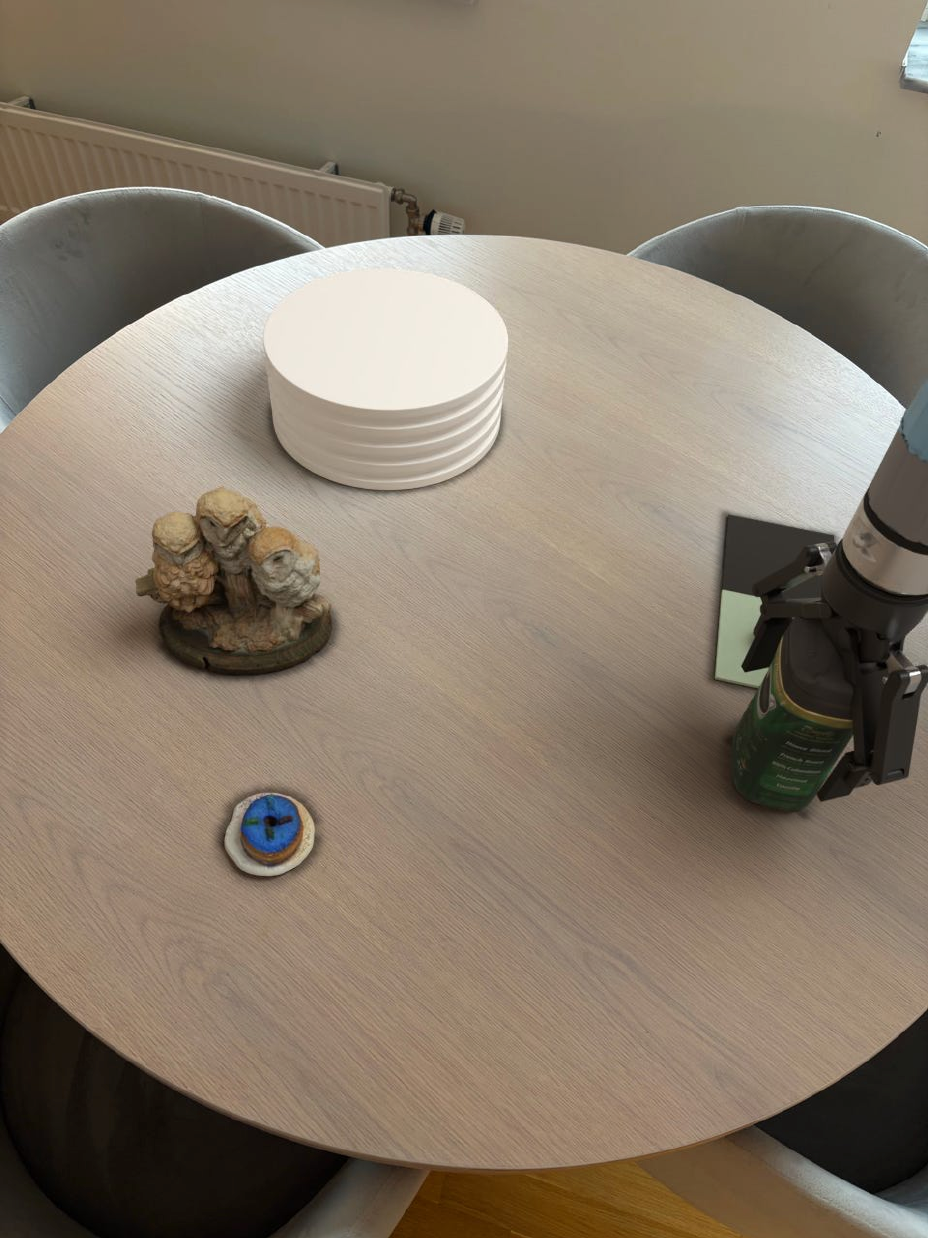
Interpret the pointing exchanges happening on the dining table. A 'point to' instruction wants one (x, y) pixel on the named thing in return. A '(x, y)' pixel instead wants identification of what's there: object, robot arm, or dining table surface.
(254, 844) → the dessert
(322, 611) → the owl figurine
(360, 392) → the plate stack
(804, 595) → the sorting mat
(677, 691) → the dining table surface
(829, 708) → the coffee jar
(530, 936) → the dining table surface
